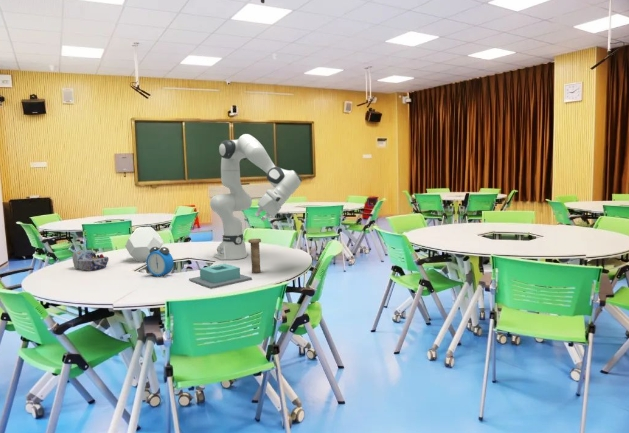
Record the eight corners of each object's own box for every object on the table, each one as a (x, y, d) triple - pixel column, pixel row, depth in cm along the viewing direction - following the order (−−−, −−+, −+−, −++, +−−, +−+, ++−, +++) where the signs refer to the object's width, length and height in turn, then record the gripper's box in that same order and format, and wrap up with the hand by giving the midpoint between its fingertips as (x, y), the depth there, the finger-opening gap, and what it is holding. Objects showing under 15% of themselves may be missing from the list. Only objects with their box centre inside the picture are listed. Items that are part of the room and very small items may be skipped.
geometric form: (140, 265, 263) (137, 230, 261) (121, 261, 275) (119, 228, 273) (169, 258, 279) (167, 226, 277) (151, 255, 291) (148, 224, 289)
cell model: (85, 247, 267) (111, 249, 259) (87, 265, 268) (112, 267, 261) (66, 251, 255) (91, 253, 247) (67, 269, 256) (93, 272, 249)
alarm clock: (147, 276, 235) (144, 247, 233) (155, 273, 241) (153, 245, 239) (167, 277, 230) (164, 248, 228) (175, 274, 236) (173, 246, 234)
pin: (247, 272, 235) (246, 239, 233) (257, 270, 239) (256, 238, 237) (254, 274, 230) (252, 241, 228) (264, 272, 234) (263, 239, 233)
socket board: (189, 280, 222) (188, 268, 222) (228, 272, 237) (227, 261, 236) (211, 288, 206) (210, 275, 205) (251, 279, 220) (251, 267, 219)
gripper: (278, 199, 242) (261, 218, 242) (267, 188, 223) (248, 209, 222) (286, 206, 240) (269, 226, 240) (275, 196, 221) (256, 217, 220)
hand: (259, 218), depth 231 cm, fingers open, 8 cm apart
